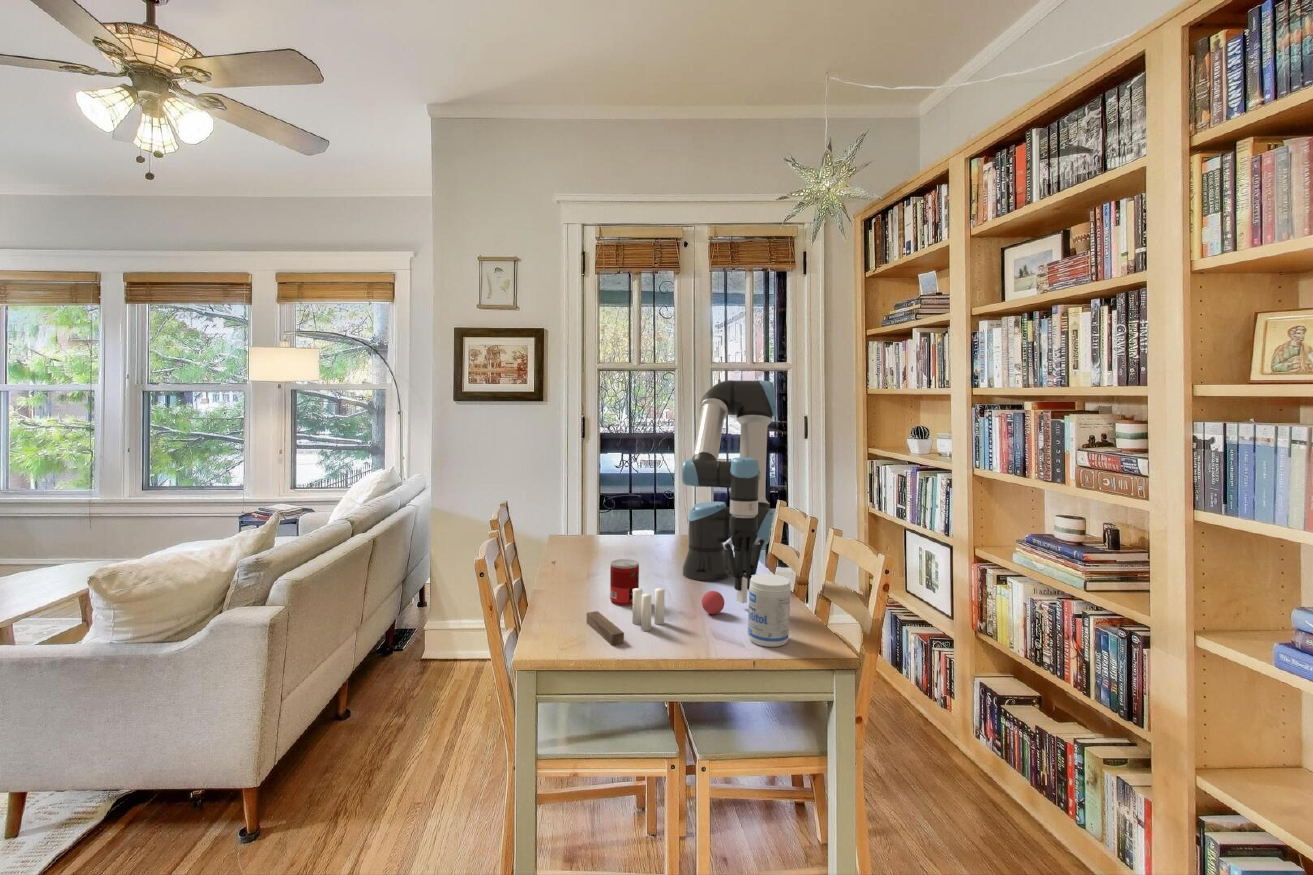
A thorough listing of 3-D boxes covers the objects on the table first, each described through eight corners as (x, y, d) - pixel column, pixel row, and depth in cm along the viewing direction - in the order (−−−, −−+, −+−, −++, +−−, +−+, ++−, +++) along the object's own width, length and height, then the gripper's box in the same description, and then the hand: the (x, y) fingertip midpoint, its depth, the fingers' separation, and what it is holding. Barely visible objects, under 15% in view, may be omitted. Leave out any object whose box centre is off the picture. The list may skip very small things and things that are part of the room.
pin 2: (648, 626, 154) (648, 593, 154) (652, 630, 152) (653, 596, 151) (639, 628, 153) (639, 594, 152) (643, 631, 151) (644, 597, 150)
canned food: (635, 606, 169) (635, 567, 168) (606, 604, 170) (607, 565, 170) (641, 598, 176) (641, 559, 176) (614, 595, 178) (614, 558, 177)
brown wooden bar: (597, 620, 158) (597, 611, 158) (623, 643, 144) (623, 632, 144) (586, 622, 156) (586, 612, 156) (611, 645, 142) (612, 634, 142)
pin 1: (639, 620, 159) (639, 587, 158) (643, 623, 156) (644, 590, 156) (630, 621, 157) (631, 588, 157) (634, 624, 155) (635, 591, 155)
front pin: (661, 620, 159) (661, 587, 158) (665, 623, 157) (666, 590, 156) (652, 621, 158) (653, 589, 157) (657, 625, 155) (657, 591, 155)
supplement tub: (739, 640, 146) (741, 579, 145) (760, 629, 154) (762, 571, 153) (776, 652, 140) (778, 587, 139) (796, 639, 147) (798, 578, 146)
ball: (716, 608, 168) (716, 586, 168) (728, 615, 163) (729, 592, 163) (697, 611, 166) (697, 589, 165) (709, 618, 160) (709, 596, 160)
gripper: (731, 519, 161) (729, 609, 162) (771, 515, 167) (769, 602, 168) (715, 514, 167) (713, 600, 169) (754, 511, 173) (752, 594, 175)
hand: (741, 601), depth 169 cm, fingers closed
